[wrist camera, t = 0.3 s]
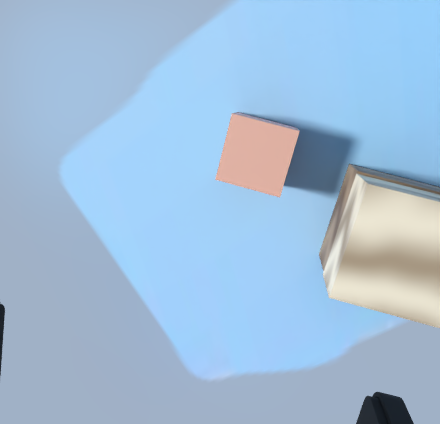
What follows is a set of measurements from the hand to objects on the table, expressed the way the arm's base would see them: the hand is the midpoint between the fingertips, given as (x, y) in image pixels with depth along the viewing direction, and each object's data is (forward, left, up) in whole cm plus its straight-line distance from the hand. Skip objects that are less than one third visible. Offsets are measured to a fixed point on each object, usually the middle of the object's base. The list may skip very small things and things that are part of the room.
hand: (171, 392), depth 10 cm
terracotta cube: (-3, 0, -34) cm, 34 cm away
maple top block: (+2, +14, -29) cm, 32 cm away
